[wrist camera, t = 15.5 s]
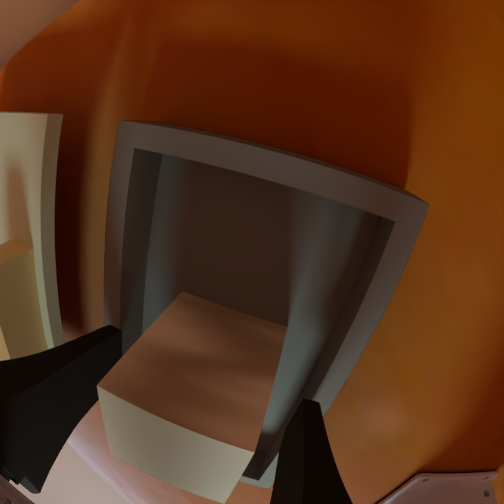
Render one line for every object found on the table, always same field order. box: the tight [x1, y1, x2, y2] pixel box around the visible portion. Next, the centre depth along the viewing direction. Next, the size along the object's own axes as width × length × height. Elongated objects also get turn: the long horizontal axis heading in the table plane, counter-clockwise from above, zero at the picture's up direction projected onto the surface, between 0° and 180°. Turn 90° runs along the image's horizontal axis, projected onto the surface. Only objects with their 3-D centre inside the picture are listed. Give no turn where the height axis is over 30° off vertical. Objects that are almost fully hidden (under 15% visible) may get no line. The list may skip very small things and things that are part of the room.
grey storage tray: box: [104, 120, 429, 489], centre depth 12 cm, size 10×17×2 cm, turn 167°
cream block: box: [97, 291, 287, 504], centre depth 10 cm, size 4×4×6 cm
